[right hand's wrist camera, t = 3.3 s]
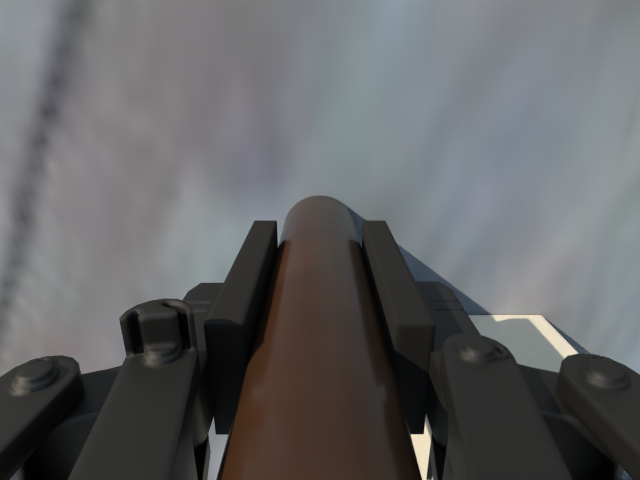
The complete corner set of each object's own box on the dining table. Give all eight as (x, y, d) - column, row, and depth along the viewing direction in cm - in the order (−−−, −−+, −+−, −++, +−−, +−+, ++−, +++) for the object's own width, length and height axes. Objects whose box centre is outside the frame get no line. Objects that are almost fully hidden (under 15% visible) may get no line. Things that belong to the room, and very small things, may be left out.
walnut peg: (356, 195, 17) (499, 608, 3) (354, 263, 18) (457, 780, 4) (282, 195, 17) (138, 606, 3) (285, 263, 18) (180, 780, 4)
